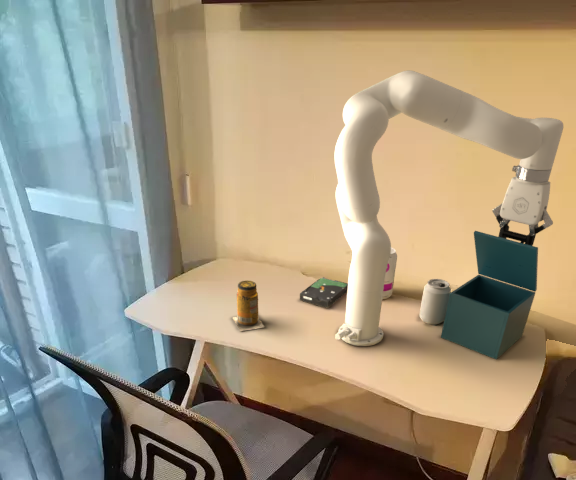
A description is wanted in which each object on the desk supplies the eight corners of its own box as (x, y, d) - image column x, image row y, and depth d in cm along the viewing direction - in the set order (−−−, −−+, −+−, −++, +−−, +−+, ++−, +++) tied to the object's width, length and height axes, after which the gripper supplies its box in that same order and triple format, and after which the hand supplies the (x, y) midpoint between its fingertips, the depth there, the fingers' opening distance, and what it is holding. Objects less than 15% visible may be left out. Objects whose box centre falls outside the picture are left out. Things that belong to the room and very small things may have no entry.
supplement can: (385, 302, 170) (391, 257, 161) (361, 296, 173) (366, 251, 165) (395, 293, 175) (402, 248, 167) (372, 286, 179) (377, 243, 170)
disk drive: (328, 309, 166) (349, 290, 176) (329, 301, 164) (349, 283, 174) (299, 301, 170) (320, 283, 180) (299, 293, 168) (321, 275, 179)
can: (444, 327, 158) (452, 289, 151) (418, 324, 159) (425, 287, 152) (444, 315, 164) (451, 278, 157) (418, 312, 165) (425, 276, 158)
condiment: (256, 314, 162) (255, 277, 155) (264, 327, 156) (264, 289, 149) (232, 318, 160) (230, 280, 153) (240, 331, 154) (238, 293, 147)
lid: (536, 249, 131) (549, 229, 133) (473, 232, 140) (486, 213, 142) (535, 292, 146) (547, 273, 147) (478, 274, 155) (489, 256, 156)
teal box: (496, 359, 144) (509, 313, 136) (440, 337, 153) (449, 293, 145) (522, 336, 154) (535, 292, 146) (468, 317, 163) (478, 274, 155)
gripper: (493, 170, 135) (477, 240, 145) (563, 184, 125) (540, 258, 136) (506, 165, 139) (490, 233, 150) (574, 178, 130) (552, 250, 140)
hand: (514, 244), depth 143 cm, fingers closed on lid, 6 cm apart
